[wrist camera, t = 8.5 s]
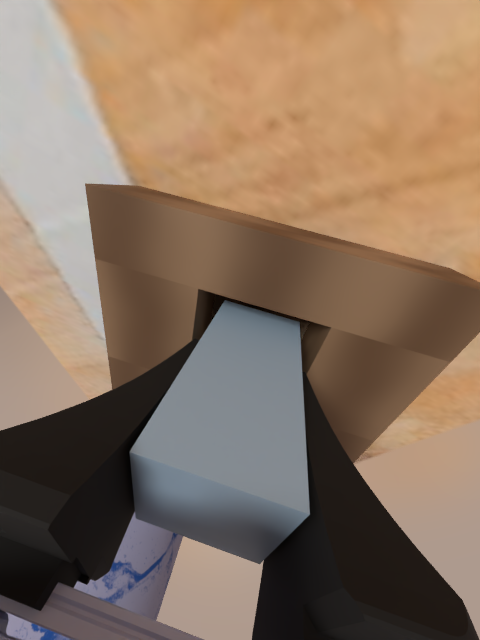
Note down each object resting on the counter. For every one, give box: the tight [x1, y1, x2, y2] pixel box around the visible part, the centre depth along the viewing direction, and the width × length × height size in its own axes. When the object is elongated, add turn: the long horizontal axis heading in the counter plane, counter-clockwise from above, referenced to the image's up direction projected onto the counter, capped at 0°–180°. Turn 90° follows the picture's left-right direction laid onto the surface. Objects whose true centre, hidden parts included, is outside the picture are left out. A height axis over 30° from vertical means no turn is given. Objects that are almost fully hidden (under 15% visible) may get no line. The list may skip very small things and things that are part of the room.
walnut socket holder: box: [85, 184, 480, 463], centre depth 13 cm, size 16×12×4 cm
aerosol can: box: [6, 512, 183, 640], centre depth 12 cm, size 8×8×20 cm
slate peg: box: [130, 300, 310, 564], centre depth 9 cm, size 4×4×8 cm
